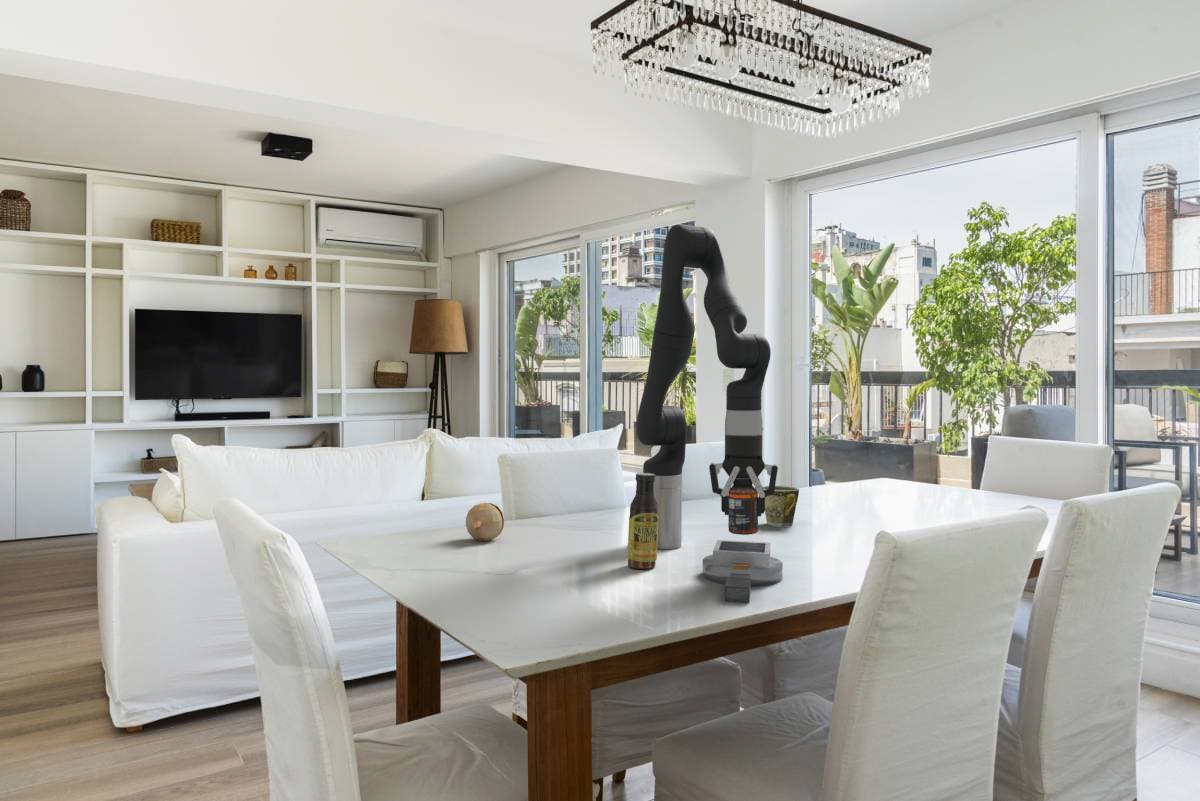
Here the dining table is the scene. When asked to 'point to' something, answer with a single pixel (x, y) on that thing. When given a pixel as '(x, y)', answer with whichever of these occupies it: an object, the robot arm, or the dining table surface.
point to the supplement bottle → (743, 507)
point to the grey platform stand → (741, 568)
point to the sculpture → (485, 521)
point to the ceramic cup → (781, 506)
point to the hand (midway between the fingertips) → (743, 514)
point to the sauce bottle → (643, 524)
